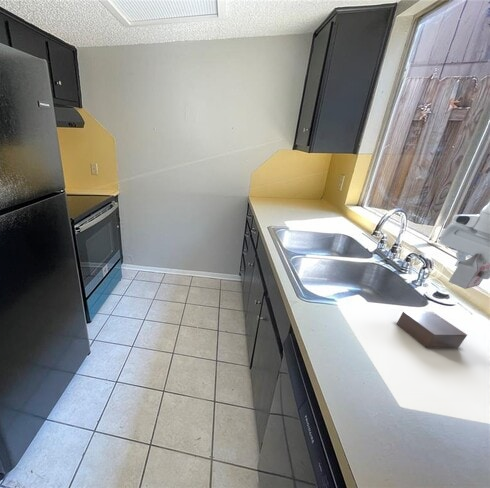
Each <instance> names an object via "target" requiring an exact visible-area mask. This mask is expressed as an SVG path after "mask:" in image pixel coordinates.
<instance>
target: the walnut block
mask: <svg viewBox="0 0 490 488" xmlns="http://www.w3.org/2000/svg"><path fill="white" fill-rule="evenodd" d="M396 325H398V326H399V327H400V328H401V329H403V331H405V332H406V333H407V334H408V335H410V336H411V337H412V338H414V339H415V340H416V341H417V342H418V343H420V345H422V346H423V347H424V348H428V349H459V347H460V346H461V345H462V344H463V342H464V340H466V338H467V336H468V334H467V333H465V332H464V331H462V330H461V329H459V328H458V327H456V326H455V325H454V324H452V323H450V322H449V321H448V320H446V319H444V318H443V317H442V316H440V315H438V314H437V313H435V312H434V311H402V313H401V315H400V317H399V319H398V320H397V322H396Z"/></svg>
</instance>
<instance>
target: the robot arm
mask: <svg viewBox="0 0 490 488" xmlns="http://www.w3.org/2000/svg"><path fill="white" fill-rule="evenodd" d="M451 221H452V222H451V223H449V224H448V225H447V226H446V227H445V229H444V230H443V232H442V233H441V235H440V238H439V240H440V244H442V245H444V246H447V247H449V248H451V249H453V250H456V260H457V261H456V262H455V264H454V266H455V267H456V268H457V267H458V265H459V264H460V263H462V262H464V261H466V260H467V257H469V256H471V257H472V256H474V255H475V254H477V253H480V260H483V261H485V262H487V263H490V200H488V202H487V204H486V205H485V206H484V207H483V208H482V209H481V210H480V212H479V214H477V213H474V214H455V215H454V216H453V217H452V220H451ZM489 268H490V266H489ZM477 276H478V277H480V278H483V280H490V269H489V270H487V271H480V272H479V274H478V275H477Z"/></svg>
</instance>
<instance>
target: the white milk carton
mask: <svg viewBox="0 0 490 488" xmlns="http://www.w3.org/2000/svg"><path fill="white" fill-rule="evenodd" d="M489 266H490V263H487V262H485V261H483V260H480V253H477V254H475V255H474V256H471V257H469V258H468V259H467V258H466V261H464V262H462V263H460V264H459V265H458V267H457V266H456V268H455V270H454V272H453V273H452V275H451V277H450V278H449V280H448V283H450V284H452V285H455V286H457V287H459V288H462V289H464V290H467V289H470V288H474V287H478V286H480V285H481V283H482V282H483V281H484V279H483V278H480V277H478V276H477V275H478V274H479V272H480V271H487V270H489V269H490V268H489Z"/></svg>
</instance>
